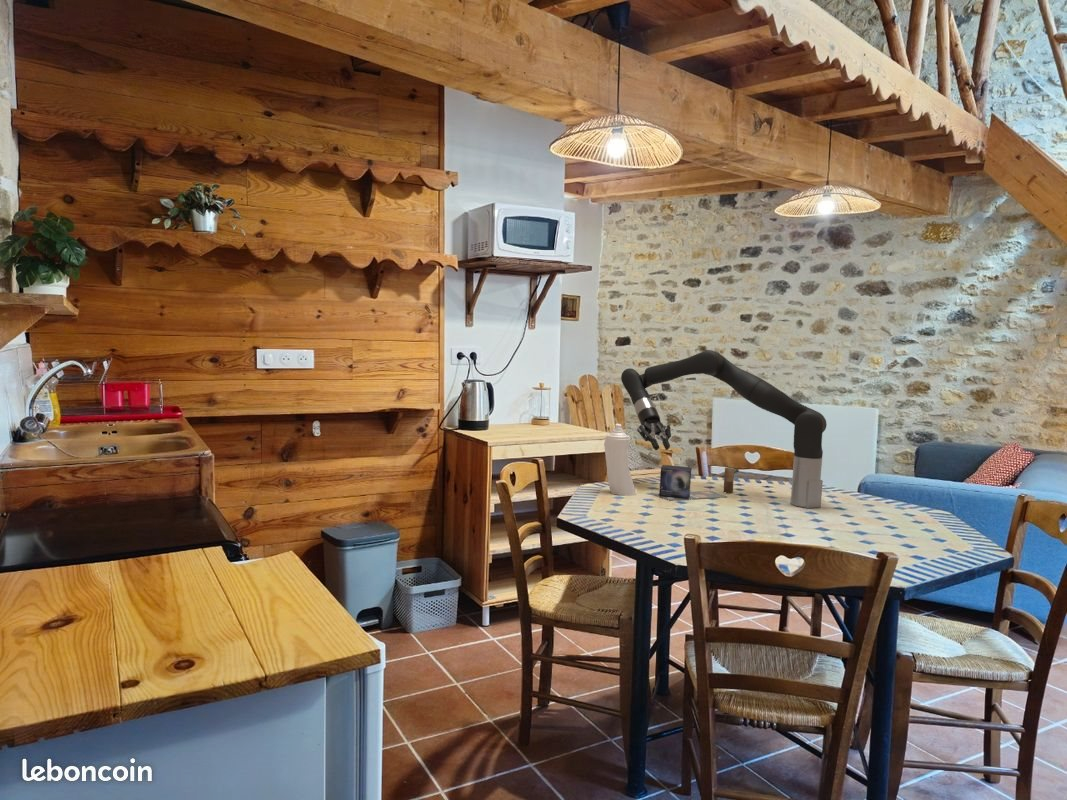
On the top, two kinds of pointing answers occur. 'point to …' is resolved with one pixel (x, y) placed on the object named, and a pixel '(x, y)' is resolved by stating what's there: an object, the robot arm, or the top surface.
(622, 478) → the spray can
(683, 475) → the small box
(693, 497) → the board
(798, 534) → the top surface
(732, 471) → the peg
